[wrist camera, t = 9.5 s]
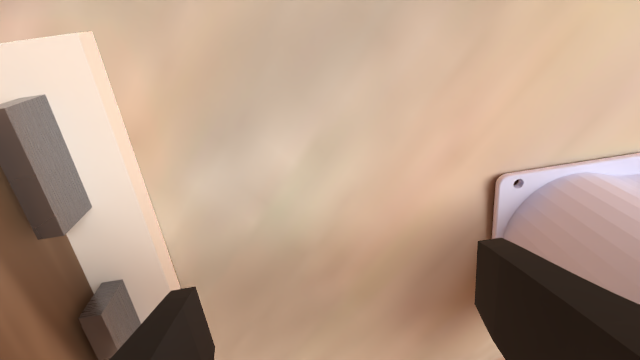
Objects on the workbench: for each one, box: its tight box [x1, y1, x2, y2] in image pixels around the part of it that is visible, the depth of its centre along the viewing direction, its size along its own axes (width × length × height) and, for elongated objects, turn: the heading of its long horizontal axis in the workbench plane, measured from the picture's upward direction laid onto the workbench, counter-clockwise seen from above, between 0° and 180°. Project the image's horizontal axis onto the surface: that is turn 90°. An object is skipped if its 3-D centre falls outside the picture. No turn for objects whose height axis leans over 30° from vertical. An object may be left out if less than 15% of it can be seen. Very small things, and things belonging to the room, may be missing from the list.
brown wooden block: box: [0, 166, 98, 360], centre depth 14 cm, size 4×12×7 cm, turn 7°
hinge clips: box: [0, 94, 141, 360], centre depth 17 cm, size 6×14×2 cm, turn 7°
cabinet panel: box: [0, 31, 181, 324], centre depth 18 cm, size 10×18×1 cm, turn 7°
